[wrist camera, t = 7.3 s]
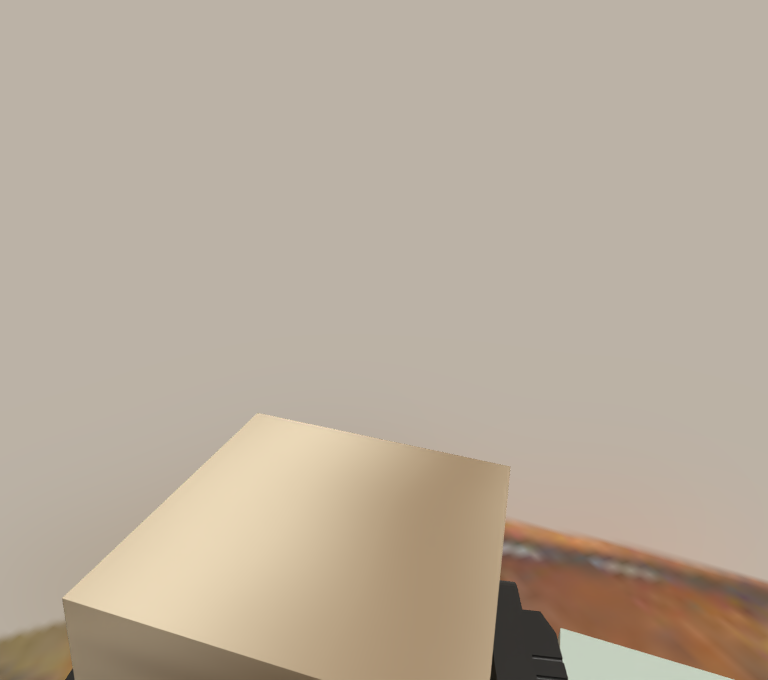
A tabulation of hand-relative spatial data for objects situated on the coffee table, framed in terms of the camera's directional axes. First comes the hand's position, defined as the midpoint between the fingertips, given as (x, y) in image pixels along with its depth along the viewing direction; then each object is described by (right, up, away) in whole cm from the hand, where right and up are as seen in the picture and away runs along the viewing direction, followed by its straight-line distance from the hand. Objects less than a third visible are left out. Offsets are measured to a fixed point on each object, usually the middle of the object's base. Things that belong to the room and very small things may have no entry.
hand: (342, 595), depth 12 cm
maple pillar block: (-1, -6, 0) cm, 7 cm away
